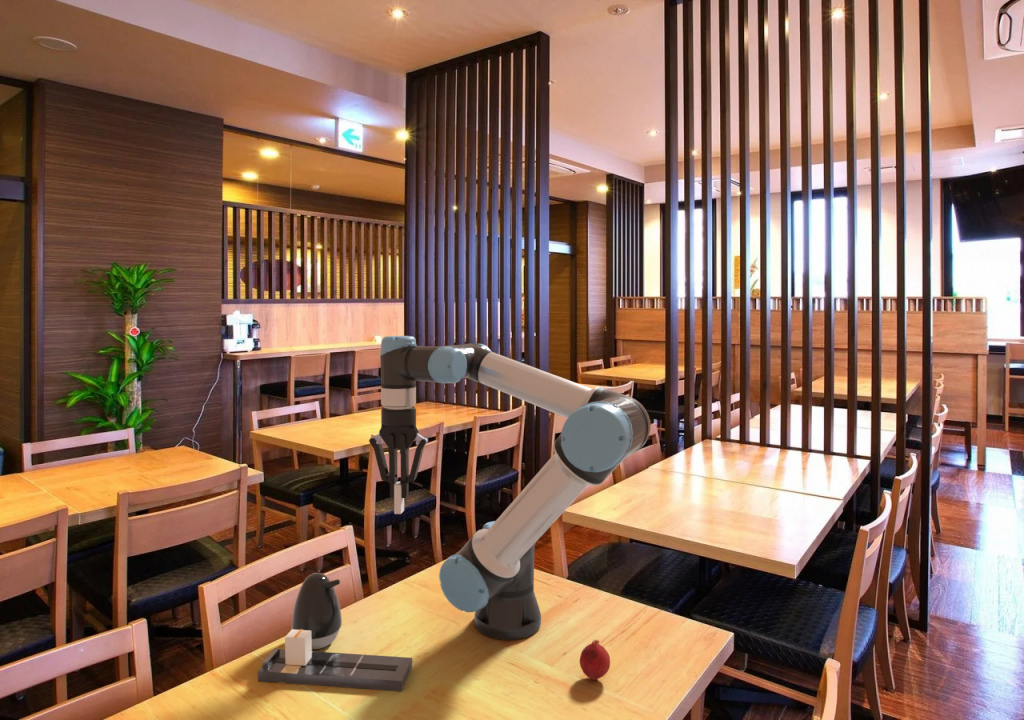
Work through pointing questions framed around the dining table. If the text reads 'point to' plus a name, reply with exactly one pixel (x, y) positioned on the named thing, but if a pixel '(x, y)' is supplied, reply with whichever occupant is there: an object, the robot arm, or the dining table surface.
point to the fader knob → (298, 647)
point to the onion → (594, 660)
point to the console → (339, 670)
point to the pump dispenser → (318, 610)
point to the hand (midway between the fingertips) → (399, 511)
